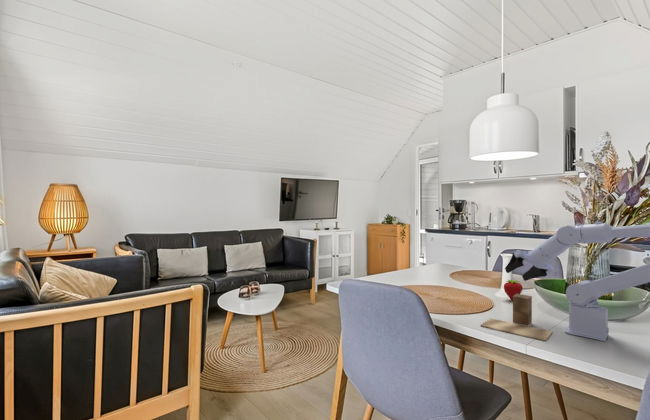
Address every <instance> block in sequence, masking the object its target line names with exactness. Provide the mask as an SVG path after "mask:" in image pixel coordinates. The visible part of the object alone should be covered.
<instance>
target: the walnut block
mask: <svg viewBox="0 0 650 420" xmlns="http://www.w3.org/2000/svg"><path fill="white" fill-rule="evenodd" d="M532 298H533V296H531V295H527V294H521V293H520V294H516V295H514V296H513V300H512V323H515V324H520V325H525V326H529V327H530V326H531V324H532V322H533V314H532V313H533V311H532V310H533V304H532V303H533V302H532V301H533V299H532Z"/></svg>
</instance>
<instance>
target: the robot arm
mask: <svg viewBox="0 0 650 420" xmlns="http://www.w3.org/2000/svg"><path fill="white" fill-rule="evenodd" d="M615 238H617V239H618V238H621V239H622V238H624V239H625V238H650V223H646V224H645V223H644V224H635V225H625V226H624V225H623V226H613V225H611V224H609V223H608V222H604V223H603V221H595V222H594V223H591V224H590V223H587V224H582V222H581V223H576V224H575V225H564V226H562V227H560V228H558V230H557V232H556V233H554V235H552V236H550V237H548V239H546V240H545V241H544V242H542V243H541V244H539V245H538V246H537V247H535V248H534V249H532V250H528V251H524V250H520V249H517V250H515V251H514V252H513V253H512V256H511V257H510V260H509V262H508V263H507V264H506V265H505V268H504V270H505V272H506V274H507V273H508V274H509V273H511V272H513V271H514V270H516V269H518V268H521V267H524V266H525V265H524V261H525V262H528V263H530V264H531V265H532V266H531V267H530V268H529V269H528V270H526V271H525V272H524V273H523V274H522V275H521V277H522V279H523V281H524V282H526V281H530V280H532V279H535V278H541V277H543V278H545V277H547V276H548V273H549V274H550V273H551V272H553V271H554V267H553V265H551V264H550V262H552V261H553V260H554V259H556V258H557V257H559V256H560V255H561V254H564V252H566V251H567V250H568V249H569V248H570V247H573V245H578V244H581V243H582V244H607V243H609V244H610V243H611V242H612V241H613V240H614V239H615ZM648 283H650V263H646V264H643V265H640V266H637V267H633V268H631V269H627V270H624V271H620V272H618V273H614V274H611V275H607V276H605V277H602V278H598V279H595V280H588V279H584V280H581V281H579V282H577V283H572V284H570V285H568V286H567V288H566V289H565V296H566V298H567V300H568V327H567V328H566V330H565V333H566V334H570V335H574V336H578V337H583V338H587V339H592V340H597V341H598V340H599V341H601V342H606V341H607V338H608V335H609V331H610V330H609V320H608V319H609V316H608V315H609V313H608V312H609V311H608V308H607V307H604V306H600V305H599V302H598V299H600V298H601V297H603V296H606V295H609V294H613V293H615V292H616V293H617V292H619V291H623V290H627V289H630V288H633V287H637V286H641V285H644V284H645V285H646V284H648Z"/></svg>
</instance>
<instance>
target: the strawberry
mask: <svg viewBox="0 0 650 420" xmlns="http://www.w3.org/2000/svg"><path fill="white" fill-rule="evenodd" d="M503 290H504V293H505V294H506V296H508V298H509V299H510V301H513V296H514V295H516V294H521V293H522V291H523V285H522V284H521V282H520V281H518V280H513V278H511V279H508V280H506V282H505V283H504V284H503Z"/></svg>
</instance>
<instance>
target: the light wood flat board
mask: <svg viewBox="0 0 650 420" xmlns="http://www.w3.org/2000/svg"><path fill="white" fill-rule="evenodd" d="M480 327H483V328H486V329H491V330H495V331H499V332H503V333H506V334H507V333H508V334H512V335H515V336H521V337H525V338H530V339H533V340H538V341H542V342H547V340H548V339H549V338H550V336H551V335H552V334H553V331H552V330H547V329H544V328H543V329H542V328H538V327H534V326H530V325H529V326H525V325H520V324H515V323H513V322H510V321H506V320H500V319H496V318H493V317H491V318H490V317H489V319H487V320H486V321H484V322H483V323H482V324H480Z"/></svg>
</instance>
